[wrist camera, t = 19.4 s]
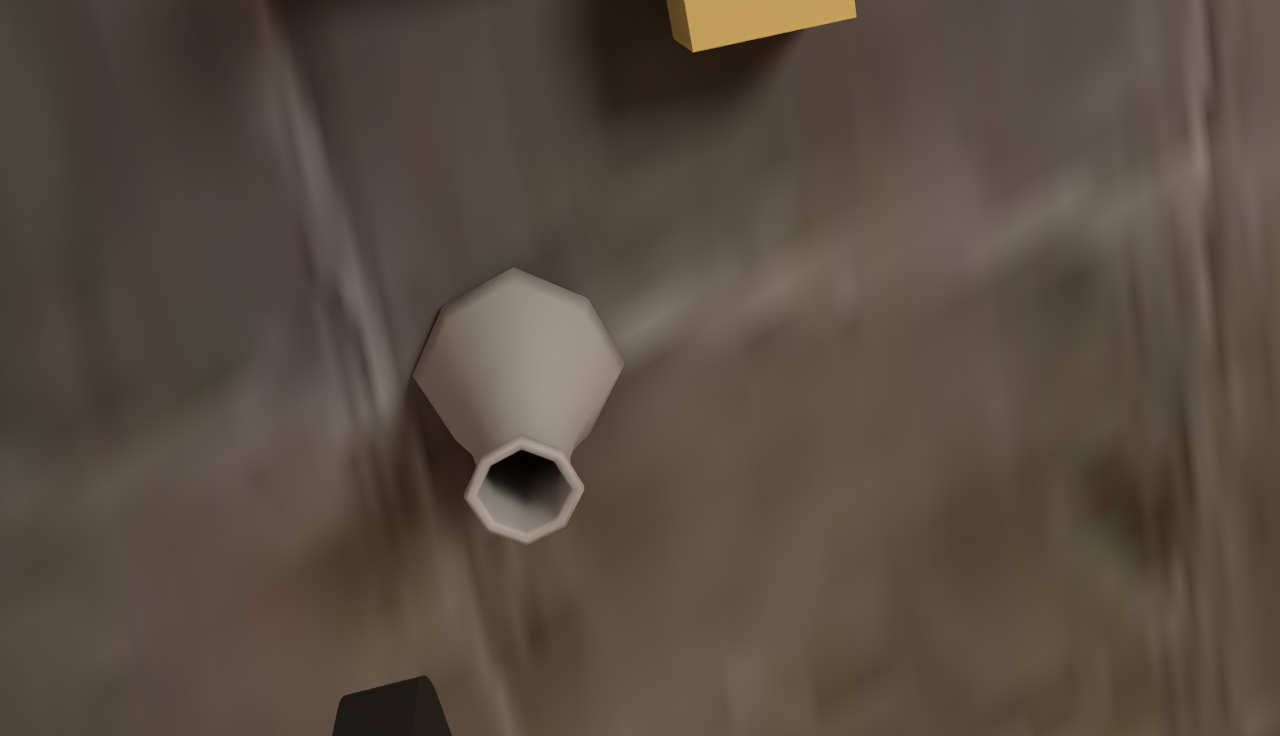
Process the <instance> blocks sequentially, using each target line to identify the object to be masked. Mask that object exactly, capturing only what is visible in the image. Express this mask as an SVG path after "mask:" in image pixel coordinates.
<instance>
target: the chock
mask: <svg viewBox="0 0 1280 736" xmlns="http://www.w3.org/2000/svg"><path fill="white" fill-rule="evenodd" d="M666 1H667V6H668V12H669V18H670V23H671V29H672V35H673V39H674V40H676V41H677V42H679V43H680V44H682V45H683V46H685V47H686V48H687V49H689V50H690V51H692V52H697V51H702V50H707V49H711V48H716V47H721V46H725V45H730V44H735V43H739V42H744V41H748V40H753V39H758V38H762V37H767V36H772V35H776V34H781V33H785V32H790V31H795V30H799V29H804V28H809V27H813V26H818V25H823V24H827V23H832V22H836V21H841V20H846V19H850V18H855V17H856V9H855V0H666Z"/></svg>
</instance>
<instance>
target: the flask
mask: <svg viewBox="0 0 1280 736" xmlns="http://www.w3.org/2000/svg"><path fill="white" fill-rule="evenodd" d="M624 365H625V362H624V360H623V358H622V357H621V355H620V353H619V352H618V350H617V348H616V346H615V345H614V343H613V341H612V339H611V338H610V336H609V334H608V332H607V331H606V329H605V327H604V326H603V324H602V322H601V320H600V319H599V317H598V315H597V313H596V312H595V310H594V308H593V307H592V305H591V303H590V301H589V300H588V298H586V297H583V296H581V295H579V294H576V293H574V292H572V291H569V290H567V289H564V288H562V287H560V286H557V285H555V284H552V283H550V282H548V281H545V280H543V279H540V278H538V277H536V276H533V275H531V274H528V273H526V272H524V271H521V270H519V269H516V268H514V267H513V268H511V269H509V270H507V271H506V272H504V273H502V274H500V275H498V276H496V277H495V278H493V279H491V280H489V281H487V282H485V283H484V284H482V285H480V286H478V287H476V288H474V289H473V290H471V291H469V292H467V293H465V294H463V295H462V296H460V297H458V298H456V299H454V300H452V301H451V302H449V303H447V304H445V305H443V306H442V308H441V310H440V313H439V315H438V317H437V320H436V322H435V324H434V327H433V329H432V331H431V334H430V336H429V338H428V341H427V343H426V345H425V348H424V350H423V352H422V354H421V357H420V359H419V361H418V364H417V366H416V368H415V371H414V373H413V375H412V376H413V377H414V379H415V380H416V382H417V383H418V385H419V386H420V388H421V389H422V391H423V392H424V394H425V395H426V397H427V398H428V400H429V401H430V403H431V404H432V406H433V407H434V409H435V410H436V412H437V413H438V415H439V416H440V418H441V419H442V421H443V422H444V424H445V425H446V427H447V428H448V430H449V431H450V433H451V434H452V436H453V437H454V439H455V440H456V441H457V442H458V443H459V444H460V445H461V446H463V447H464V448H465V449H466V450H467V451H468V452H469V453H471V454H472V456H473V459H474V461H475V464H476V469H475V471H474V473H473V475H472V477H471V480H470V482H469V484H468V486H467V488H466V490H465V493H464V499H465V500H466V502H467V503H468V504H469V506H470V507H471V509H472V510H473V512H474V513H475V515H476V516H477V518H478V519H479V521H480V522H481V524H482V525H483V526H484V528H485V529H486V531H487V532H490V533H493V534H495V535H498V536H501V537H504V538H507V539H510V540H512V541H515V542H518V543H521V544H524V545H527V546H528V545H530V544H532V543H534V542H536V541H538V540H540V539H542V538H544V537H546V536H547V535H549V534H551V533H553V532H555V531H557V530H559V529H561V528H563V527H565V526H566V525H567V523H568V521H569V519H570V517H571V515H572V513H573V511H574V509H575V507H576V505H577V503H578V501H579V499H580V497H581V495H582V493H583V491H584V485H583V483H582V482H581V480H580V479H579V477H578V475H577V474H576V472H575V471H574V469H573V467H572V466H571V464H570V457H571V454H572V452H573V451H574V449H575V448H576V447H577V446H578V445H579V444H580V443H581V442H582V441H583V440H584V439H585V438H586V437H587V436H588V435H589V433H590V432H591V431H592V429H593V428H594V426H595V424H596V421H597V419H598V417H599V415H600V413H601V411H602V409H603V407H604V405H605V403H606V401H607V399H608V397H609V395H610V393H611V391H612V389H613V387H614V385H615V383H616V381H617V379H618V377H619V375H620V373H621V371H622V369H623V367H624Z"/></svg>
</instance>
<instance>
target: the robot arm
mask: <svg viewBox="0 0 1280 736" xmlns="http://www.w3.org/2000/svg"><path fill="white" fill-rule="evenodd" d="M332 736H452V735H451V732H450V729H449V726H448V724H447V721H446V718H445V715H444V712H443V710H442V707H441V704H440V701H439V698H438V696H437V693H436V691H435V688H434V686H433V684H432V683H431V681H430V679H429V678H428V677H427V676H425V675H424V676H420V677H416V678H412V679H408V680H404V681H400V682H396V683H392V684H388V685H384V686H380V687H376V688H372V689H368V690H364V691H360V692H356V693H352V694H348V695H344V696H343V697H342V699H341V701H340V703H339V706H338V710H337V715H336V720H335V725H334V729H333V734H332Z"/></svg>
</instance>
